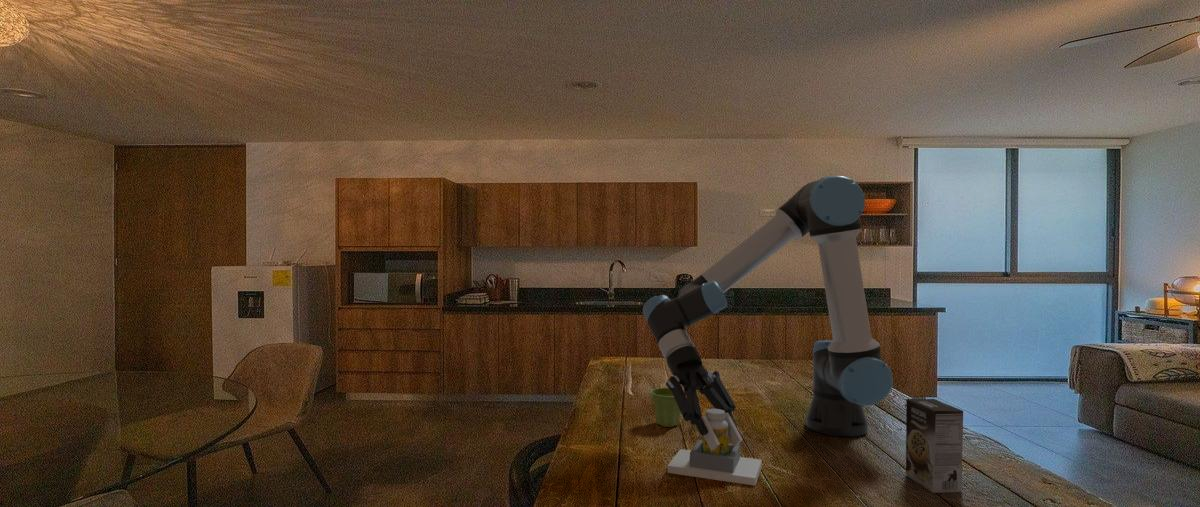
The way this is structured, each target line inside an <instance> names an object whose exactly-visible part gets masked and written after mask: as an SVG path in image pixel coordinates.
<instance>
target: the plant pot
mask: <svg viewBox="0 0 1200 507" xmlns="http://www.w3.org/2000/svg"><path fill="white" fill-rule="evenodd" d="M650 394H651V397H652V399H653V406H654V407H653V408H654V412H655V413H654V415H655V423H656V425H660V426H661V427H665V428H668V427H669V428H673V427H675V426H676V427H677V426H678V427H679V425H680V421H681V420H680V419H681V415H682V414H681V412H680V409H679V407H678V405H677V403H676V400H675V398H674V396H673V393H672V391H671V390H670V389H669V388H668V387H658V388H657V387H656V388H653V389H651V390H650Z"/></svg>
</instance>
